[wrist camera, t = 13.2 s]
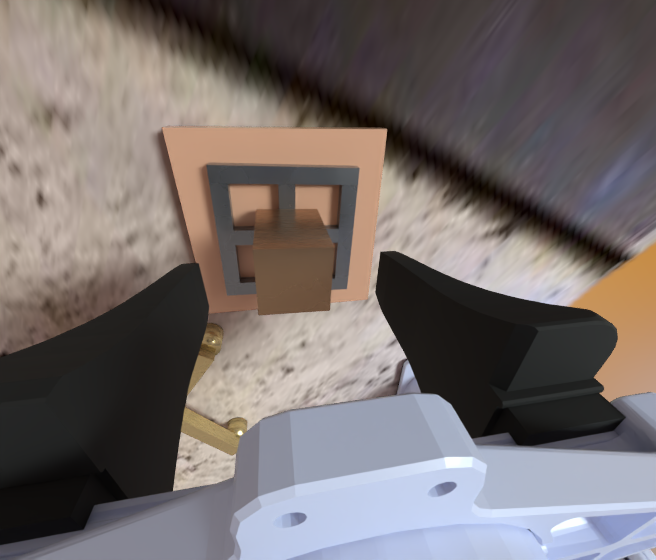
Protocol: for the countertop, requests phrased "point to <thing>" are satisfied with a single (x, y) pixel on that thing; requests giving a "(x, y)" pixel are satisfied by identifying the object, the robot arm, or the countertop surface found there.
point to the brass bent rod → (197, 423)
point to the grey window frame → (286, 236)
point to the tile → (274, 193)
